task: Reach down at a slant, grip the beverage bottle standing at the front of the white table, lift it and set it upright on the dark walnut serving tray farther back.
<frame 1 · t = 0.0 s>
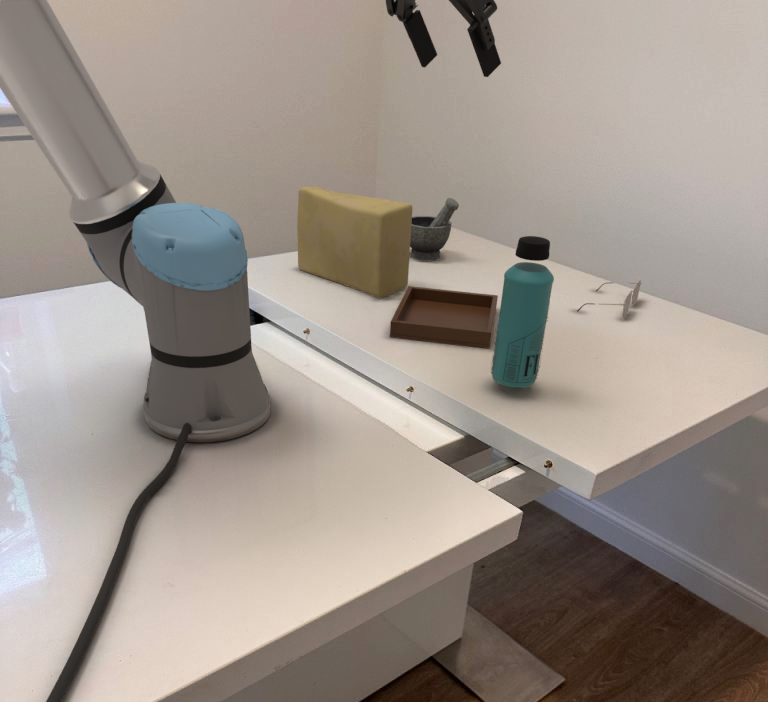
hand: (459, 65, 101), 36 cm above the table, tool tilted 35°, fingers open, 13 cm apart
tray: (445, 322, 118), on the table
mortar and pestle: (428, 258, 149), on the table
beverage bottle: (511, 388, 100), on the table
eyeglasses: (607, 306, 129), on the table
cheese: (345, 281, 134), on the table
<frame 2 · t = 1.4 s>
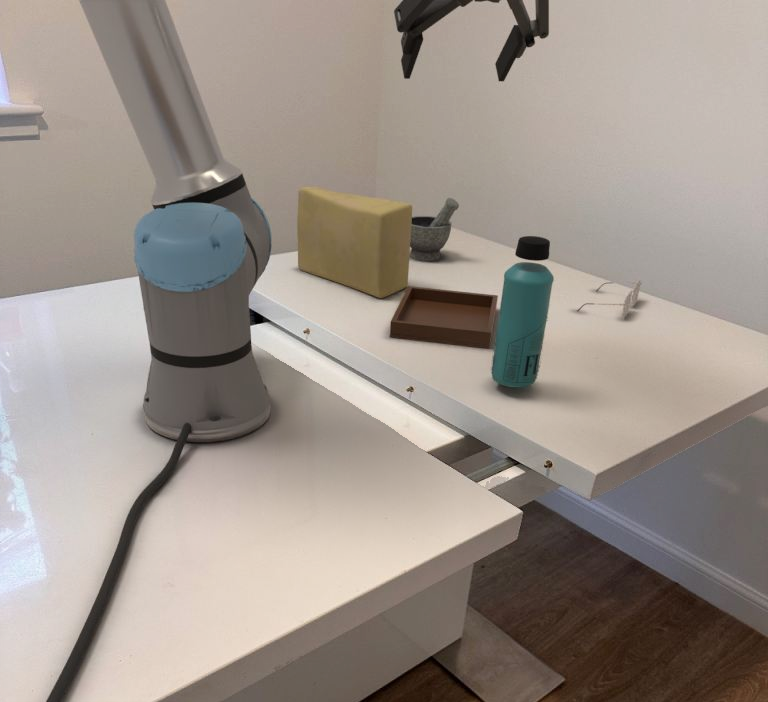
hand: (453, 71, 97), 36 cm above the table, tool tilted 45°, fingers open, 13 cm apart
nothing on the table moved.
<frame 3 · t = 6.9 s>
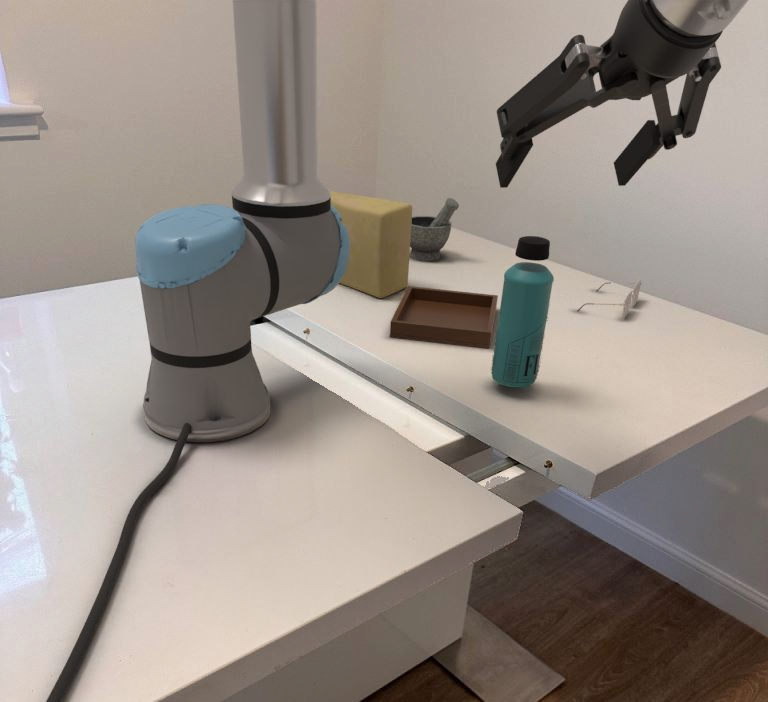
hand: (561, 175, 75), 29 cm above the table, tool tilted 45°, fingers open, 13 cm apart
nothing on the table moved.
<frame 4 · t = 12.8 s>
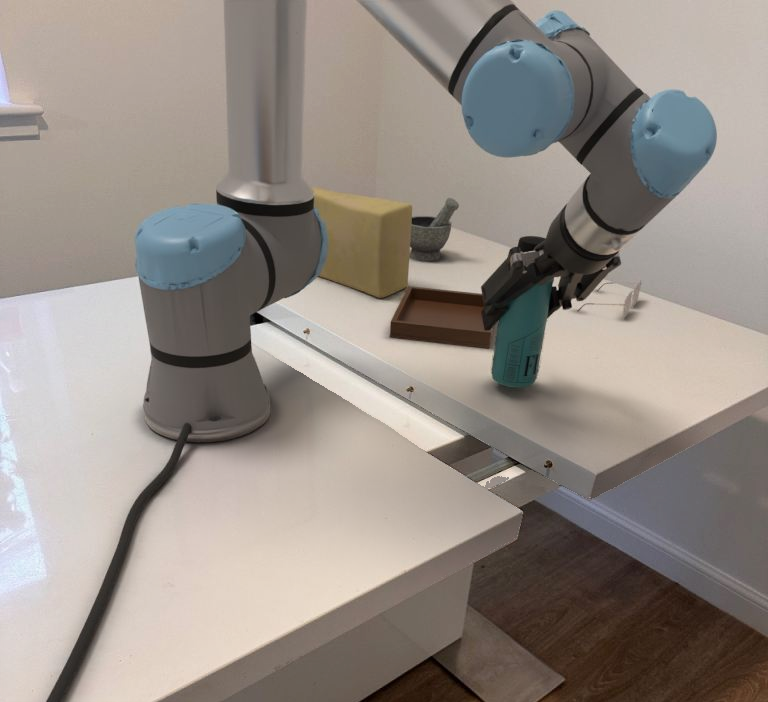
hand: (510, 319, 97), 8 cm above the table, tool tilted 45°, fingers closed on beverage bottle, 6 cm apart
beverage bottle: (511, 388, 100), on the table, touching gripper
everything else where it was.
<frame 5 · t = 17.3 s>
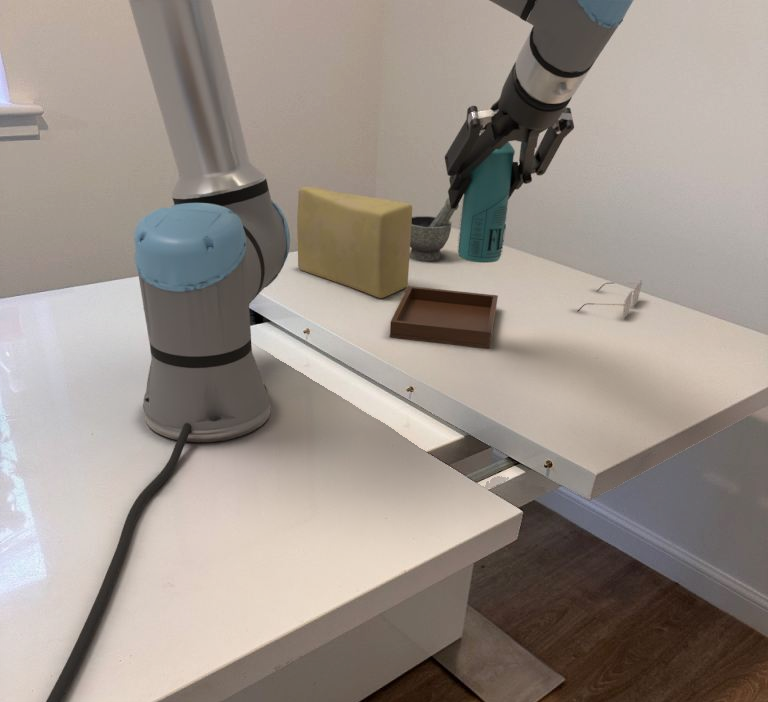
hand: (475, 199, 102), 20 cm above the table, tool tilted 45°, fingers closed on beverage bottle, 6 cm apart
beverage bottle: (477, 268, 105), point 12 cm above the table, touching gripper
everything else where it was.
when the fingers open (9 cm above the table, at t = 22.0 s): beverage bottle stays where it is, resting on tray.
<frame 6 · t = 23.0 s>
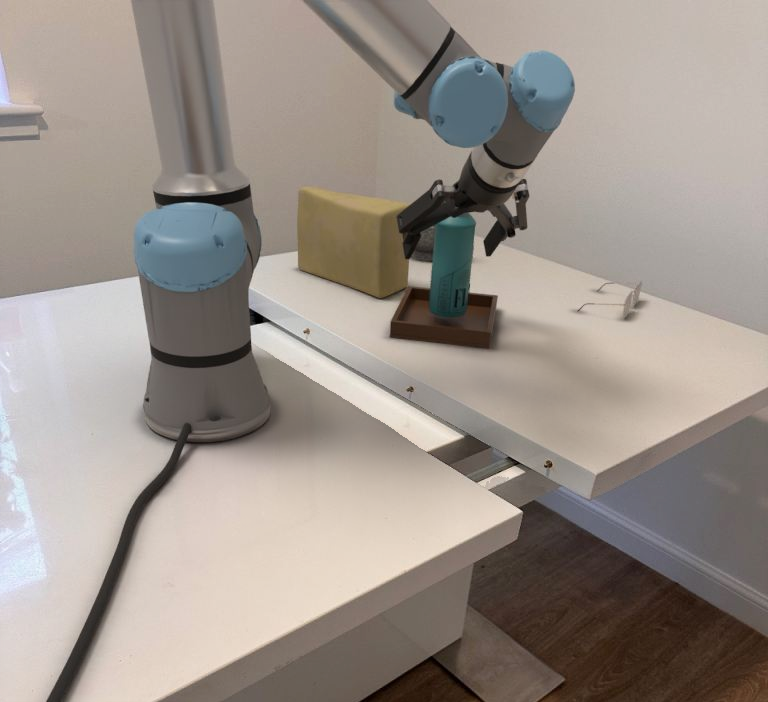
hand: (446, 250, 114), 11 cm above the table, tool tilted 45°, fingers open, 13 cm apart
beverage bottle: (446, 320, 118), resting on tray
everything else where it was.
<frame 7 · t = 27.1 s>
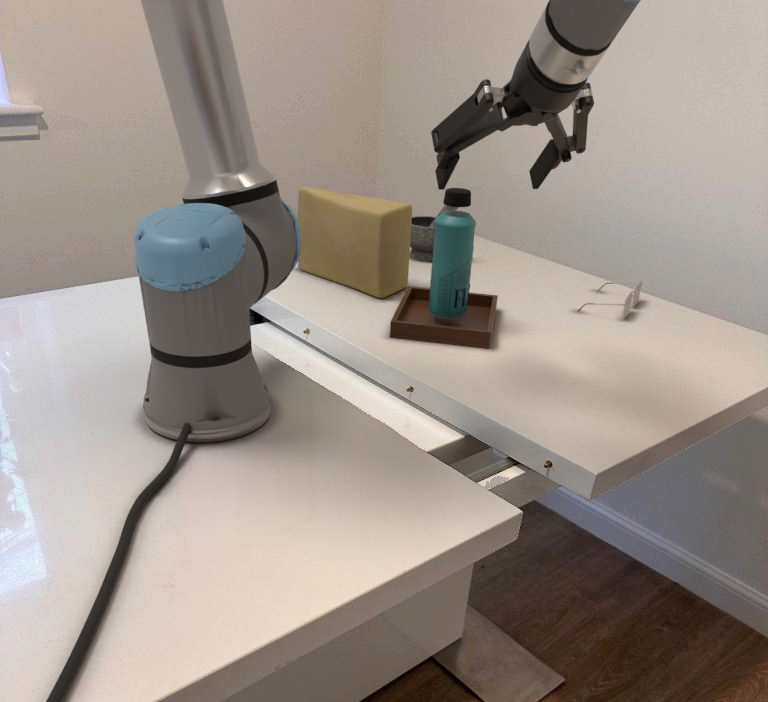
hand: (487, 180, 96), 24 cm above the table, tool tilted 45°, fingers open, 13 cm apart
nothing on the table moved.
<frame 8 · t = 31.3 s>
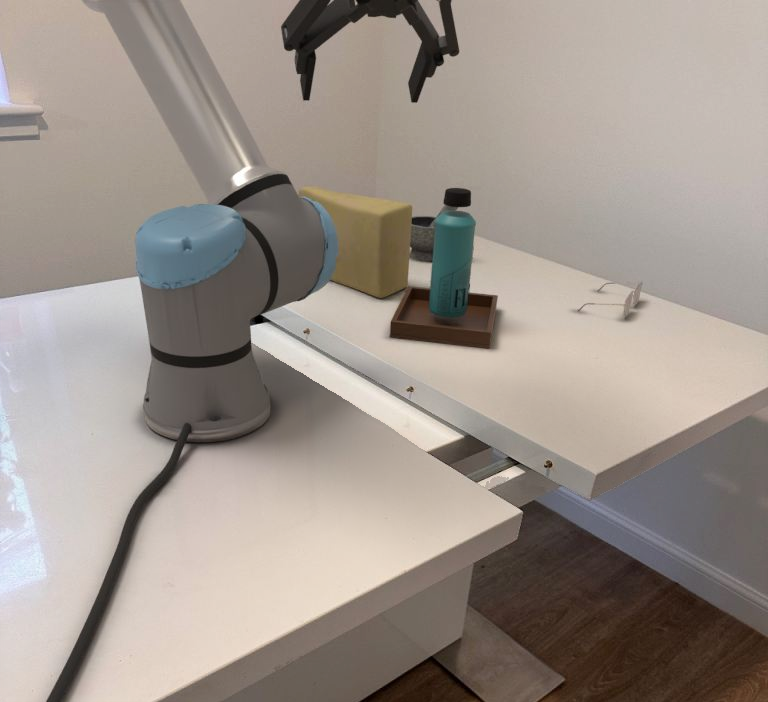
hand: (359, 91, 88), 34 cm above the table, tool tilted 45°, fingers open, 13 cm apart
nothing on the table moved.
at the end: beverage bottle inside the target area in the tray (0.1 cm from its centre), point 0.4 cm above the tray's base; beverage bottle tilted 0°; the gripper is holding nothing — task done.
